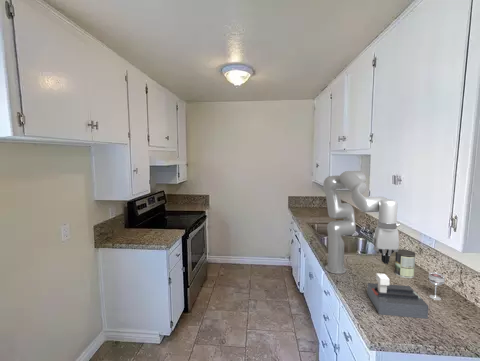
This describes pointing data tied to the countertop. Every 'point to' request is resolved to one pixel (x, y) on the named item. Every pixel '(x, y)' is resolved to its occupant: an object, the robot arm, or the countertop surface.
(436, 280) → the wineglass
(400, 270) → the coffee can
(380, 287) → the handle
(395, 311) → the slider base
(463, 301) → the countertop surface
